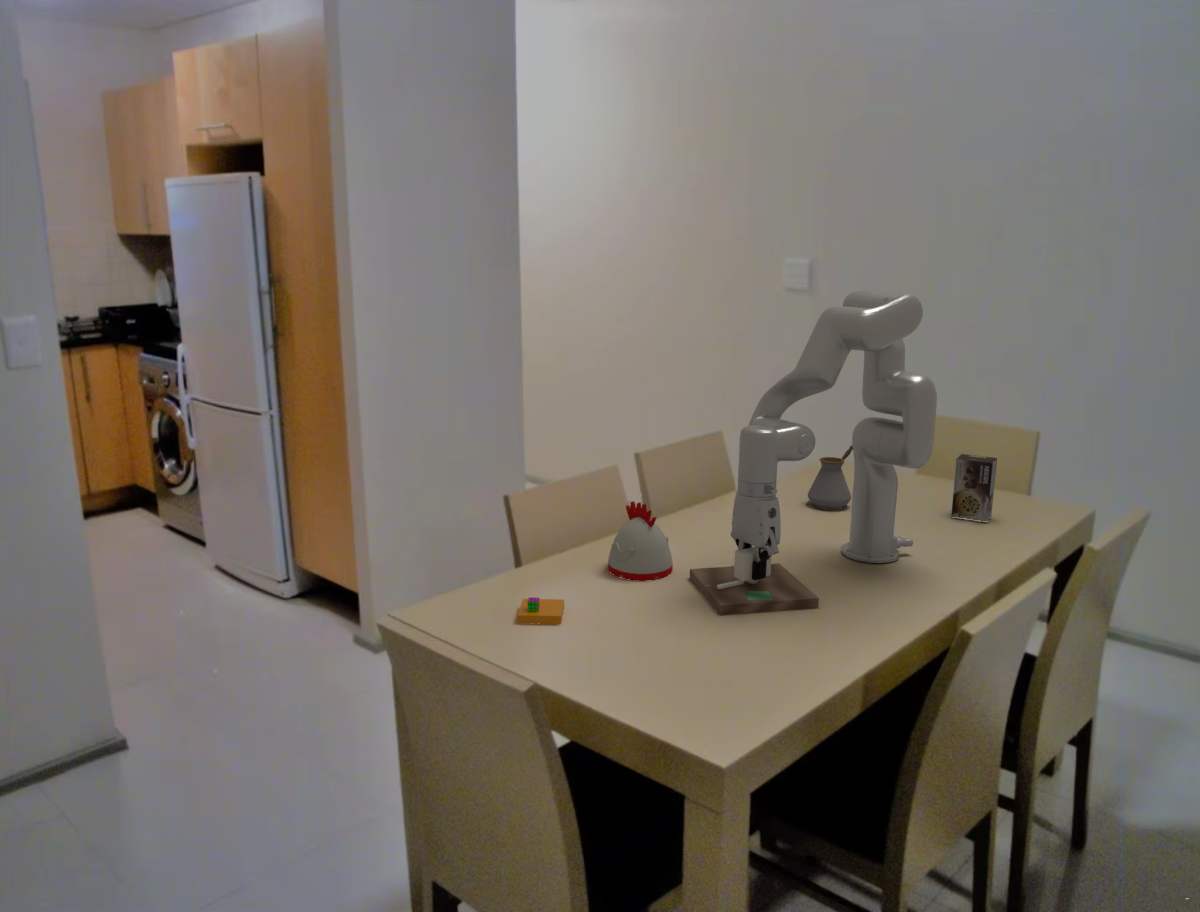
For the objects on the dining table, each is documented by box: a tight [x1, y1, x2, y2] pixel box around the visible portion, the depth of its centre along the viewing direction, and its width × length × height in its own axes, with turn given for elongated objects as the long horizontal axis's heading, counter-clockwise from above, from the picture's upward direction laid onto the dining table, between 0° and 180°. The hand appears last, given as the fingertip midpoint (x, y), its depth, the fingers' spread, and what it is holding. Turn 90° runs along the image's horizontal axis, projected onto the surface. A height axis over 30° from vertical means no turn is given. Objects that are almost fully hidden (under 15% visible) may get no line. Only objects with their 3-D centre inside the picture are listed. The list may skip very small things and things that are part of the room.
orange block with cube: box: [517, 596, 565, 625], centre depth 173 cm, size 8×8×4 cm
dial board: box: [689, 563, 820, 616], centre depth 185 cm, size 20×20×2 cm
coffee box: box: [950, 453, 998, 521], centre depth 236 cm, size 9×6×16 cm
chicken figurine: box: [607, 500, 673, 582], centre depth 196 cm, size 14×14×15 cm
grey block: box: [717, 546, 772, 589], centre depth 183 cm, size 12×3×7 cm, turn 120°
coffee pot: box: [807, 445, 853, 511], centre depth 249 cm, size 21×12×15 cm, turn 141°
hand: (752, 574), depth 185 cm, fingers closed on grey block, 3 cm apart
